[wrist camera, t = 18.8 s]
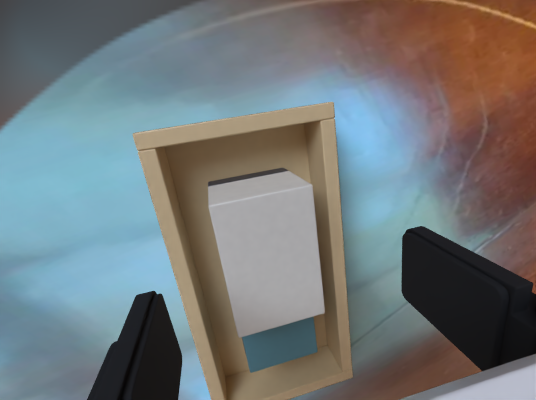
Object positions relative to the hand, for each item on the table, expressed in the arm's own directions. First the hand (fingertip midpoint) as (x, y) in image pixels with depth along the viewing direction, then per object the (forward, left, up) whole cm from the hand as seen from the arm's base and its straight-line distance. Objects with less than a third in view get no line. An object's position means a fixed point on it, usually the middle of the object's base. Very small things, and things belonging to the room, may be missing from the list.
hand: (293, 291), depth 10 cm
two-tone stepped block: (+3, 0, -7) cm, 8 cm away
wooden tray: (+3, 0, -8) cm, 8 cm away
